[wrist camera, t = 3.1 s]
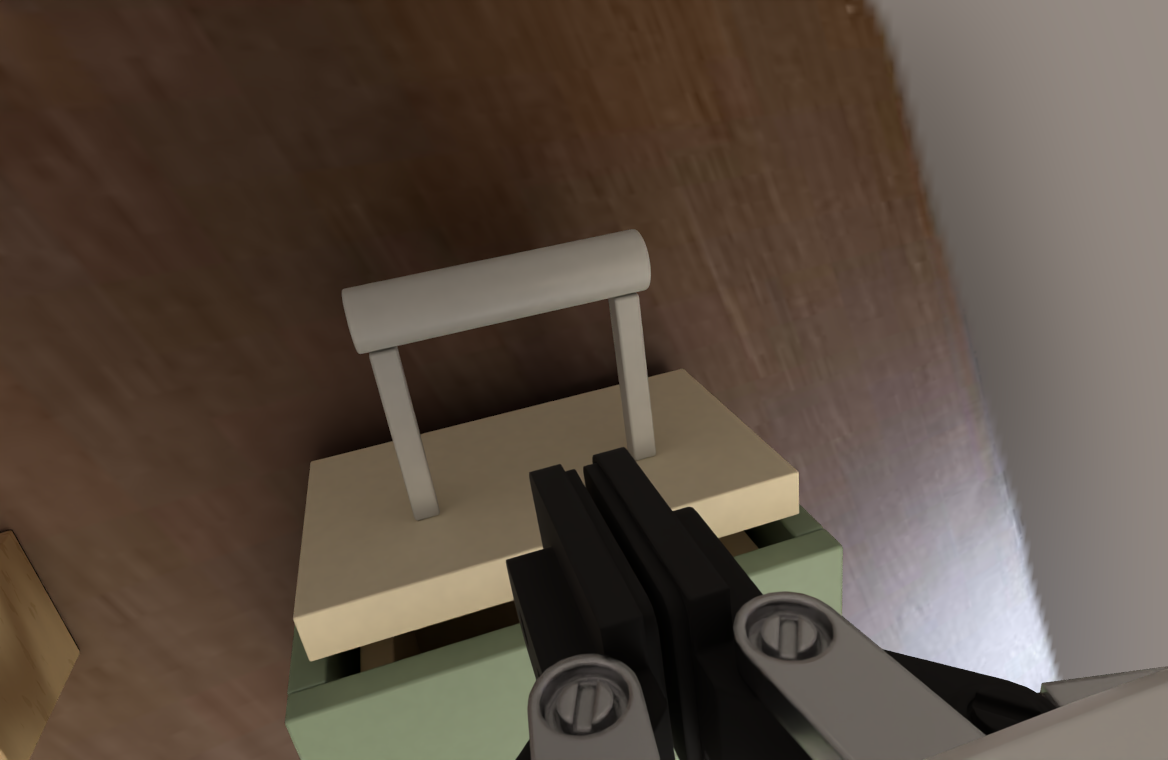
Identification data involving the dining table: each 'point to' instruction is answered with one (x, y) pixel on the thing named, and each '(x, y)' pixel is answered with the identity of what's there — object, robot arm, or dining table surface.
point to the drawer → (503, 458)
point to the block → (28, 653)
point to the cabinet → (493, 673)
